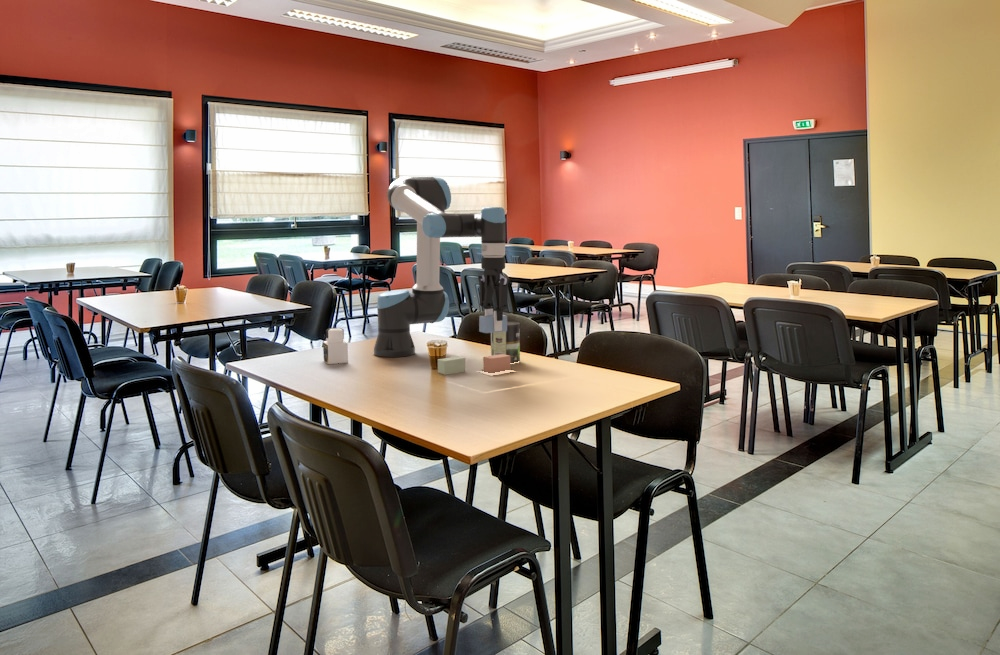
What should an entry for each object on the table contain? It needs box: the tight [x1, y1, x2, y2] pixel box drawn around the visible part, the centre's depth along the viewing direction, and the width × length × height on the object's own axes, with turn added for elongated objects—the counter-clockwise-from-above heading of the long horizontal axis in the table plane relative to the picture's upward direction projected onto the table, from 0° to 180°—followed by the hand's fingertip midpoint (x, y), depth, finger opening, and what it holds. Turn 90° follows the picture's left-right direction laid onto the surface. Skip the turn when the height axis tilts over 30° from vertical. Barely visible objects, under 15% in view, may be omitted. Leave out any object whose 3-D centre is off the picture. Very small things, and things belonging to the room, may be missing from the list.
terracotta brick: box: [482, 354, 511, 373], centre depth 238 cm, size 8×4×5 cm, turn 127°
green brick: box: [437, 356, 466, 375], centre depth 238 cm, size 8×4×5 cm, turn 127°
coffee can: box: [490, 320, 521, 363], centre depth 253 cm, size 10×10×14 cm
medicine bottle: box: [322, 327, 349, 365], centre depth 257 cm, size 7×7×12 cm
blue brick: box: [478, 314, 508, 334], centre depth 234 cm, size 8×4×5 cm, turn 121°
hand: (493, 329), depth 235 cm, fingers closed on blue brick, 4 cm apart
